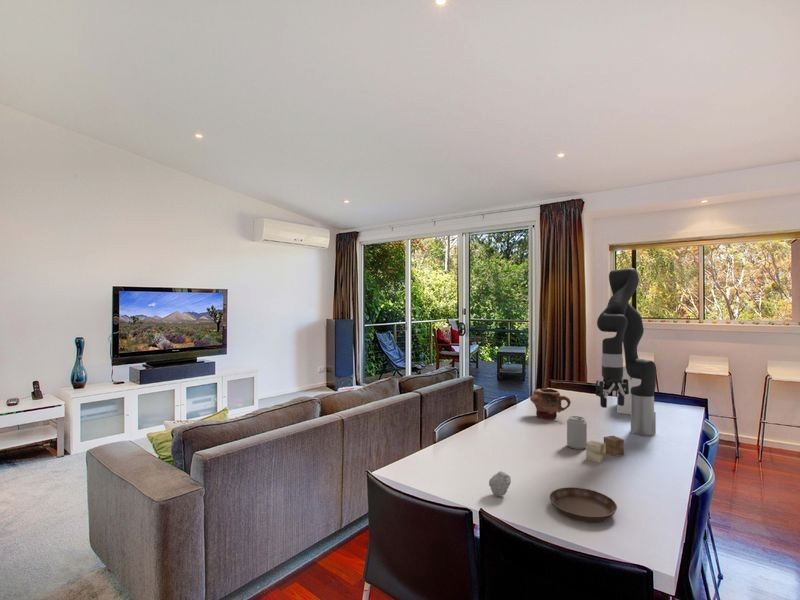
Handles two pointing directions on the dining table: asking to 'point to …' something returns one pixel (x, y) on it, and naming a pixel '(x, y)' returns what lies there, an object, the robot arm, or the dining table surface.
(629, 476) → the dining table surface
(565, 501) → the plant saucer
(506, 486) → the grey lumpy rounded piece
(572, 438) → the can
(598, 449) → the maple block
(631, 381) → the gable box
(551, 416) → the clay jug
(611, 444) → the walnut block
